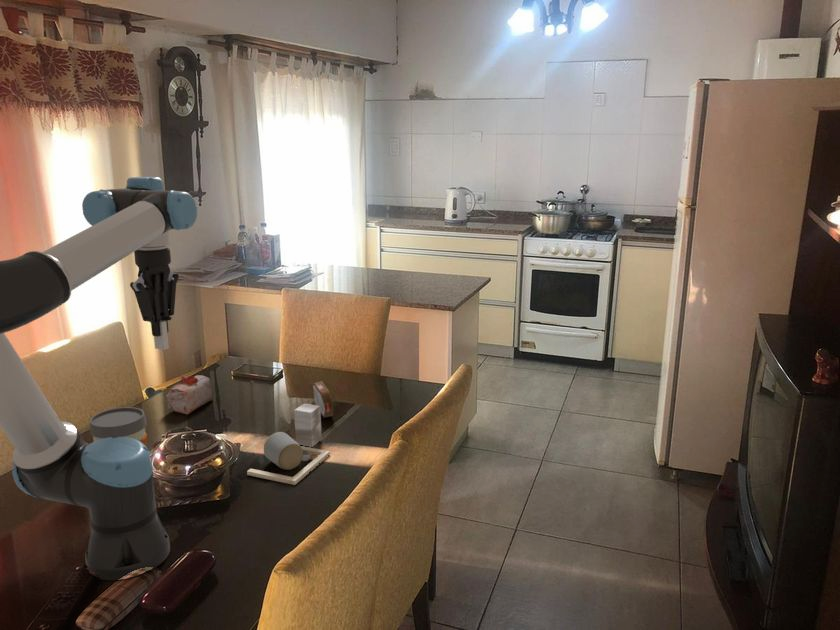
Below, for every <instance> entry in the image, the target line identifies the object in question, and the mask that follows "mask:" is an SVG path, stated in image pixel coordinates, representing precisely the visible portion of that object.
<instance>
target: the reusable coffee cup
mask: <svg viewBox="0 0 840 630" xmlns="http://www.w3.org/2000/svg"><path fill="white" fill-rule="evenodd" d="M146 427H147V419H146V414H145V411H144V410H143V409H141V408H139V407H133V406H132V407H131V406H123V407H114V408H111V409H110V408H109V409H106V410H103V411H101V412H98V413H96V414H94V415H93V416H91V418H90V420H89V434H90V436H92V438H93V441H92V442H94V441H97V440H100V439H104V438H109V437H112V438H117V437H127V438H132V439H135V440H138V441H140V442H142V443H143V444H144V445H145V446H146V447H147V441H148V440H147V436H148V433H147V432H146Z"/></svg>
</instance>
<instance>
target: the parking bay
mask: <svg viewBox="0 0 840 630" xmlns="http://www.w3.org/2000/svg"><path fill="white" fill-rule="evenodd" d="M301 448H302V449H303V450H306V451H307V452H309V453H310V455H313V454H315V455H314V456H316V457H315V458H314V459H313V460H312V461H310V462H309V463H307V465H306V466H304V467H303V468H301V470H299V471H298V472H297V473H296V474H295V475H294V476H290V475H289V476H288V475H283V474H280V473H274V472H269V471H264V470H260V469H255V468H249V469H248V470H246V475H247V476H251V477H256V478H259V479H260V478H261V479H265V480H270V481H275V482H280V483H283V484H284V483H285V484H287V485H288V484H289V485H294V486H296V485H297V484H298V483H299V482H300V481H301V480H303V479H304V478H305V477H306V476H307V475H309V474H310V473H311V472H312V471H313V470H314V469H315V468H317V467H318V466H319V465H320V464H321V463H322V462H323V460H324V459H325V458H326V457H327V456H328V455H329V454H330V455H331V451H330V450H325V449H320V448H314V447H313V448H311V447H305V446H301ZM318 455H319V456H318ZM330 455H329V456H330ZM329 456H328V457H329ZM328 457H327V458H328ZM327 458H326V459H327ZM326 459H325V460H326ZM325 460H324V461H325ZM319 463H320V464H319ZM316 466H317V467H316ZM310 471H311V472H310ZM309 472H310V473H309Z"/></svg>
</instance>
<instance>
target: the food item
mask: <svg viewBox="0 0 840 630" xmlns="http://www.w3.org/2000/svg"><path fill="white" fill-rule="evenodd" d="M180 378H181V380H180V384H179V383H177V384H175V385H174V386H172V387H171V388H170V389H169V391H168V392H167V394H166V399H167V400H166V404H167V406H166V407H167V408H168V410H169V411H173V412H176V413H179V414H183V415H188V416H189V415H190V414H192V413H193V412H194V411H196V410H197V409H198V408H200V407H202V406H204V405H205V404H206V405H207V403H208V402H210V401H212V400H213V399H214V397H213V390H212V383H211V379H210V377H207V376H205V375H201V374H200V375H199V374H197V375H194V376H192V375H191V376H187V377H185V376H181V377H180Z"/></svg>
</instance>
